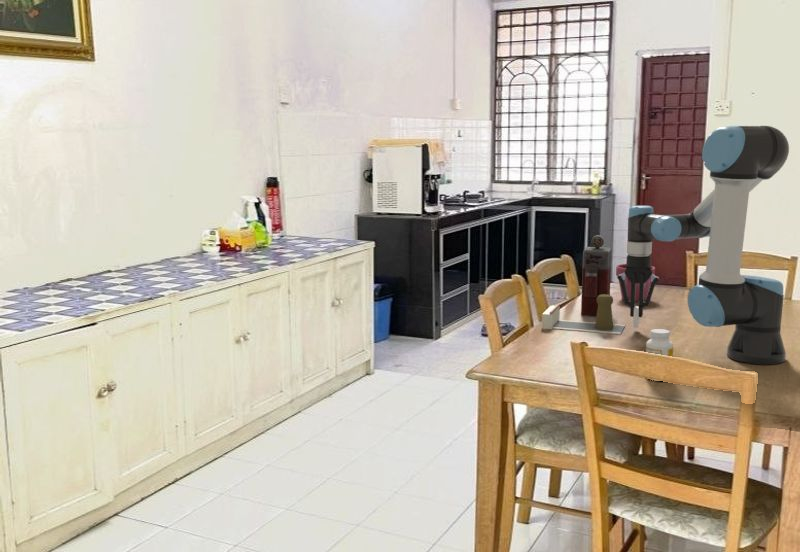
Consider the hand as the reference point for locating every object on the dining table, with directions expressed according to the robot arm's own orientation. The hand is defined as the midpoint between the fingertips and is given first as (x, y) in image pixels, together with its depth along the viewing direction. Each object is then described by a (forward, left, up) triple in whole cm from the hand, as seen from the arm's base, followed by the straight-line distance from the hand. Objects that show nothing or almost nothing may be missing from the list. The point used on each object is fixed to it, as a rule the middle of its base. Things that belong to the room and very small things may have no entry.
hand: (635, 326), depth 255 cm
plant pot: (+52, +6, -2) cm, 52 cm away
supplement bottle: (-50, -11, -2) cm, 51 cm away
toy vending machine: (+20, +16, -2) cm, 26 cm away
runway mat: (0, +15, -2) cm, 15 cm away
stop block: (0, +28, -2) cm, 28 cm away
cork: (0, +10, -1) cm, 10 cm away
